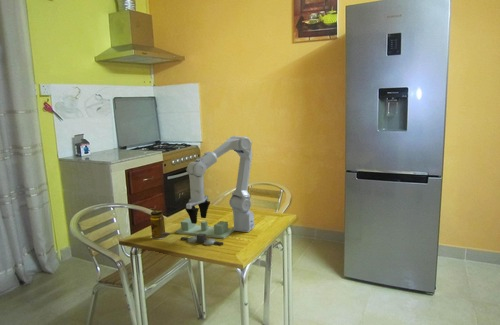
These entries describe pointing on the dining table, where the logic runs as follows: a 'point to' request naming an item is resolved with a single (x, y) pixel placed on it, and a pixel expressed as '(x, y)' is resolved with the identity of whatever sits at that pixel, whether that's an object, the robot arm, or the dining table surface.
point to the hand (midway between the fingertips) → (198, 220)
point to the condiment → (158, 225)
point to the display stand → (205, 229)
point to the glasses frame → (201, 240)
